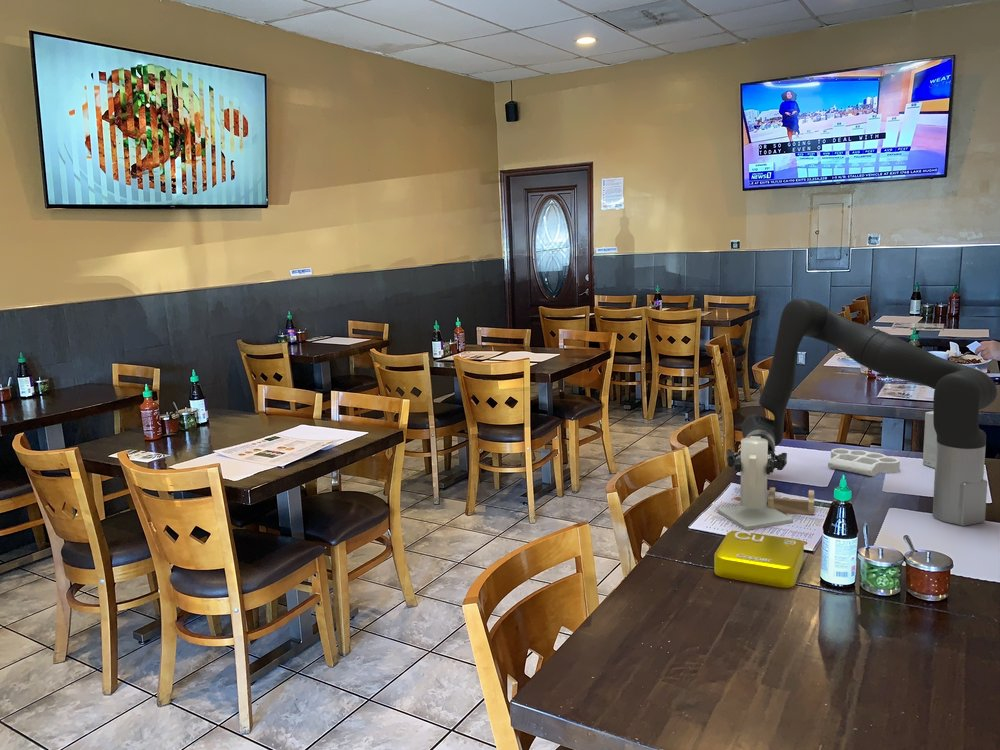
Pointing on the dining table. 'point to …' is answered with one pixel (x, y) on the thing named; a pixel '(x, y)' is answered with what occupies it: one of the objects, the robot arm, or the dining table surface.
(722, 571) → the element tile
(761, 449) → the jug
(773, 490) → the holder
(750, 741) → the dining table surface
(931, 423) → the skincare box
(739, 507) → the plate
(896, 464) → the knuckle duster
